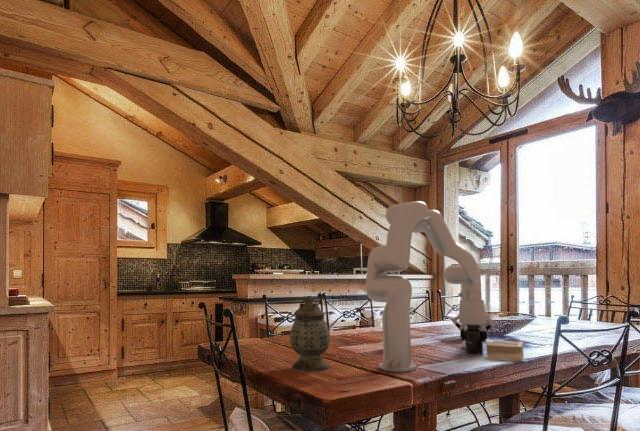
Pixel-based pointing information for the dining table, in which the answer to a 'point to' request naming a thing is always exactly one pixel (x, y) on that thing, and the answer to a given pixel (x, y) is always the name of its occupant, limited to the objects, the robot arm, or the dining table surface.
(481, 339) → the supplement bottle
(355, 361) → the dining table surface
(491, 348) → the plinth
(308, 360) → the lantern
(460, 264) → the robot arm
